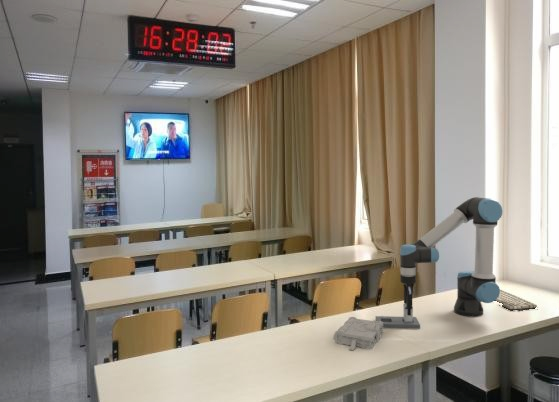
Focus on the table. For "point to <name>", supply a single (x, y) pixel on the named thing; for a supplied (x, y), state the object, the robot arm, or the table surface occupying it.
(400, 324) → the jack panel
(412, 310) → the plug
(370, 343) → the grey lumpy block
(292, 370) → the table surface
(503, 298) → the mechanical keyboard
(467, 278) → the robot arm
